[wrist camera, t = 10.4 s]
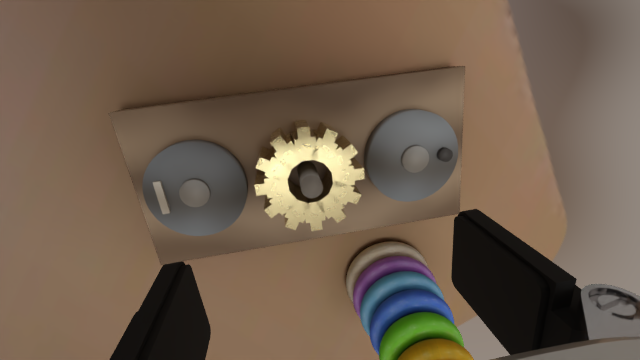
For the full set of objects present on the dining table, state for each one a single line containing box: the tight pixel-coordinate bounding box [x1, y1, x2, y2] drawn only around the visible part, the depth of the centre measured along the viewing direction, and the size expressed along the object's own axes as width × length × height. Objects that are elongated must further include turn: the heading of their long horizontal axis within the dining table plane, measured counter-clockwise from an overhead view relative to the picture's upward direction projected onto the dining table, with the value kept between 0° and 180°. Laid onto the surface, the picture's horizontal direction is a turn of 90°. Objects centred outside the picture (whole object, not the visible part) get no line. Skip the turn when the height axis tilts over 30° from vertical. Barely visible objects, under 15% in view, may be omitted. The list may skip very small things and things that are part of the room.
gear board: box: [109, 66, 465, 265], centre depth 23 cm, size 12×25×6 cm, turn 97°
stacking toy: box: [346, 241, 474, 360], centre depth 21 cm, size 8×8×19 cm
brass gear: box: [254, 120, 365, 231], centre depth 22 cm, size 7×7×3 cm
